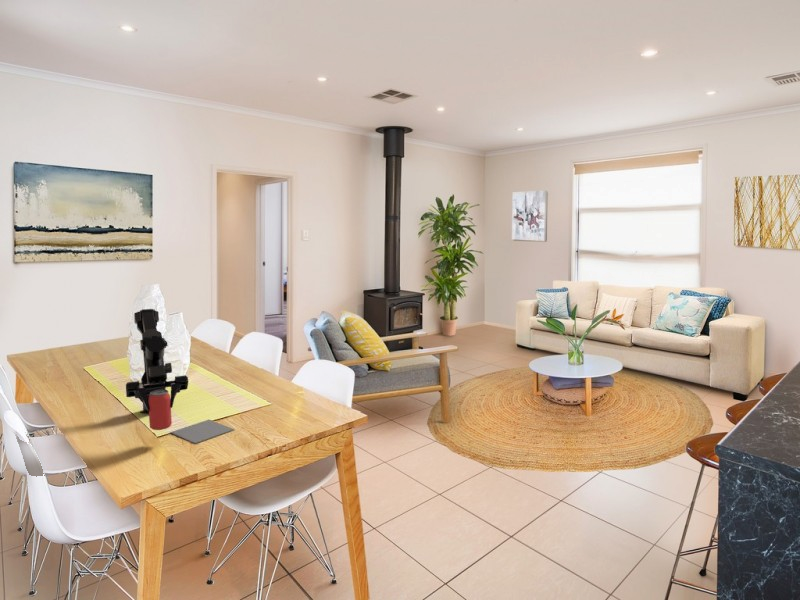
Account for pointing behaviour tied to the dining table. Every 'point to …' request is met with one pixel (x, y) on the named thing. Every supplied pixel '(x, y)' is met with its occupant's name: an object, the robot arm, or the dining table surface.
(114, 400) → the dining table surface
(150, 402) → the beer can
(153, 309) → the robot arm
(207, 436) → the mat
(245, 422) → the dining table surface
